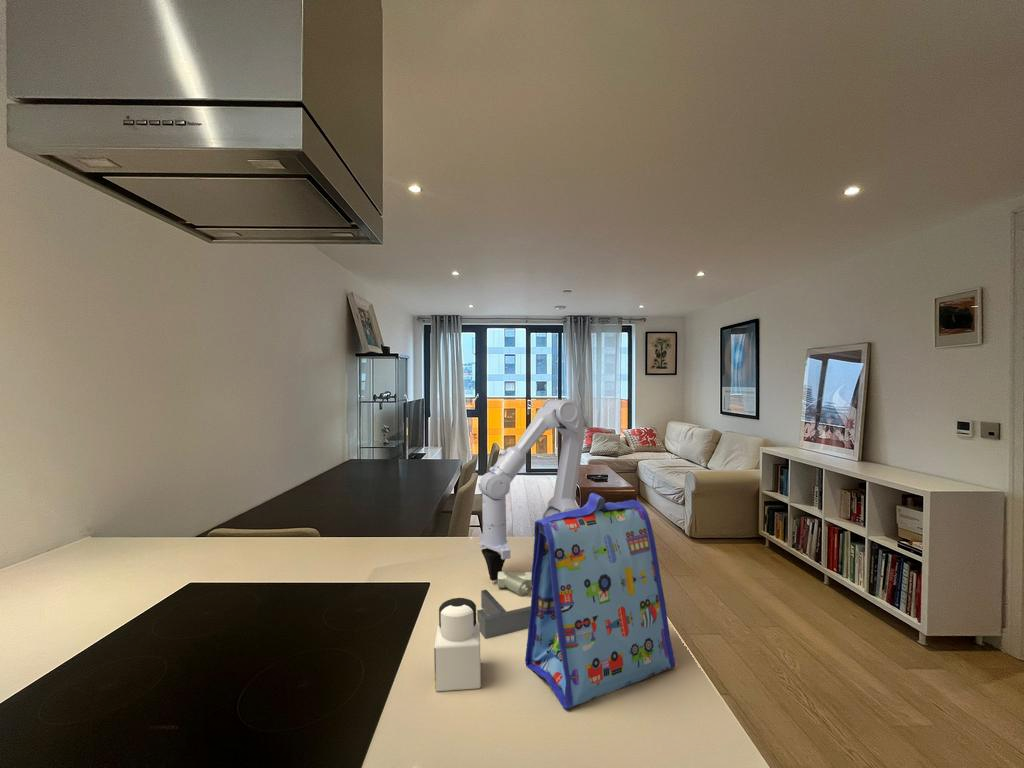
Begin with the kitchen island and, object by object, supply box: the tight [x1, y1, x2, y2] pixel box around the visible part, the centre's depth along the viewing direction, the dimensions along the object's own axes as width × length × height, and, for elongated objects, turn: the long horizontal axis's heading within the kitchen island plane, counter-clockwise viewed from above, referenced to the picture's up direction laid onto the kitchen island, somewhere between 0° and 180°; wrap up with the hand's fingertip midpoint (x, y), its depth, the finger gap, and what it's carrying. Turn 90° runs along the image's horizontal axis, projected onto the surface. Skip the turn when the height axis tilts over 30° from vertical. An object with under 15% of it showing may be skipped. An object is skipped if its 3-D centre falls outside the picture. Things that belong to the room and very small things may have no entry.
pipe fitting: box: [497, 571, 533, 597], centre depth 107 cm, size 8×4×7 cm
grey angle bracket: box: [476, 589, 531, 640], centre depth 97 cm, size 22×12×4 cm, turn 114°
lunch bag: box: [524, 492, 676, 710], centre depth 77 cm, size 22×14×29 cm, turn 117°
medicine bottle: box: [433, 597, 482, 692], centre depth 75 cm, size 7×7×12 cm
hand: (495, 579), depth 111 cm, fingers closed
